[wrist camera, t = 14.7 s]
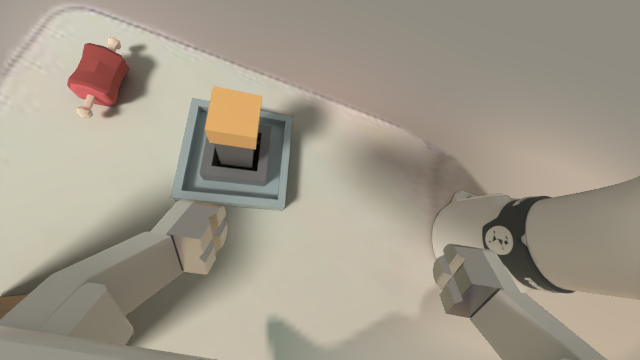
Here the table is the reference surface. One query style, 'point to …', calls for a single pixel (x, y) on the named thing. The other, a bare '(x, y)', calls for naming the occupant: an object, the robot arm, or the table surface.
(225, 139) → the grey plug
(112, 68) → the meat
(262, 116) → the box
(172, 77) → the table surface
